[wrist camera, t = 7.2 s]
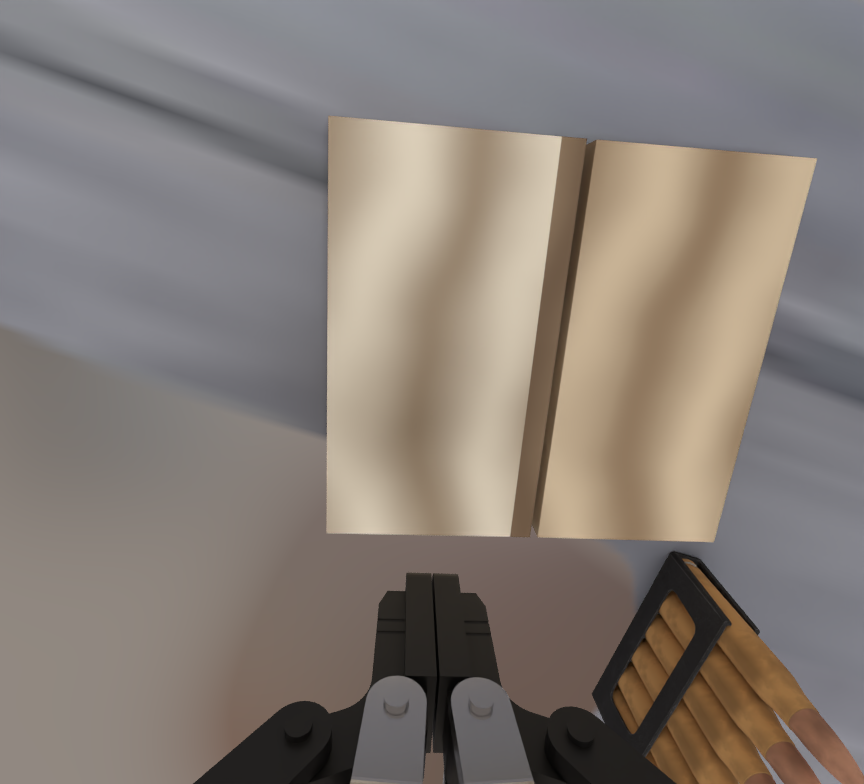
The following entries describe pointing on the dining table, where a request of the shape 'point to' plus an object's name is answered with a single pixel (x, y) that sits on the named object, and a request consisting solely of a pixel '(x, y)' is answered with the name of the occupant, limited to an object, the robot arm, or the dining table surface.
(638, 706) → the ammunition clip
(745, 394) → the oak board
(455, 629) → the robot arm
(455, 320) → the birch plank
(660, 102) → the dining table surface
